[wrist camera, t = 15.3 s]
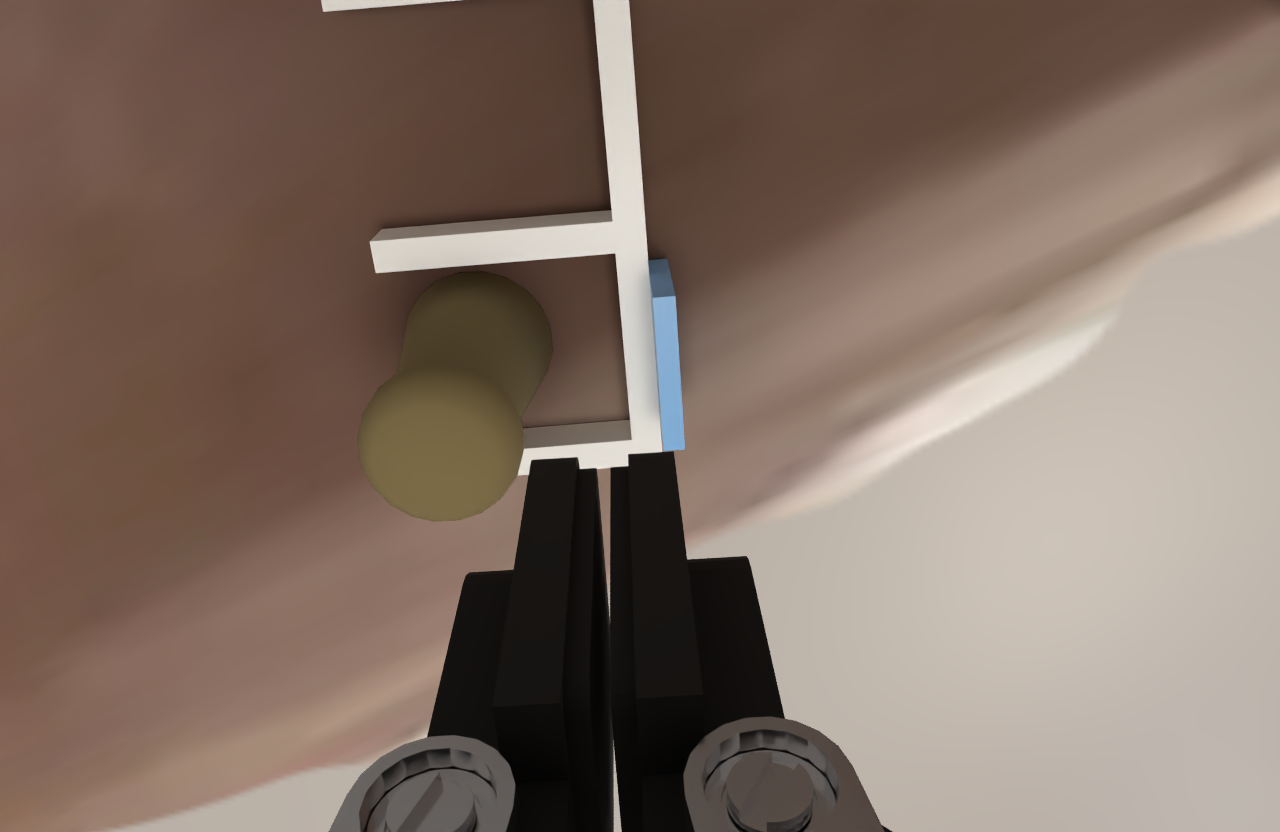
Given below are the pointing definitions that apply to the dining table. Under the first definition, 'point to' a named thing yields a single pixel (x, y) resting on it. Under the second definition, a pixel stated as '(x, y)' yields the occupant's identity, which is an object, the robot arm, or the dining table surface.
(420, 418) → the olive rounded piece
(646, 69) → the dining table surface
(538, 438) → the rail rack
